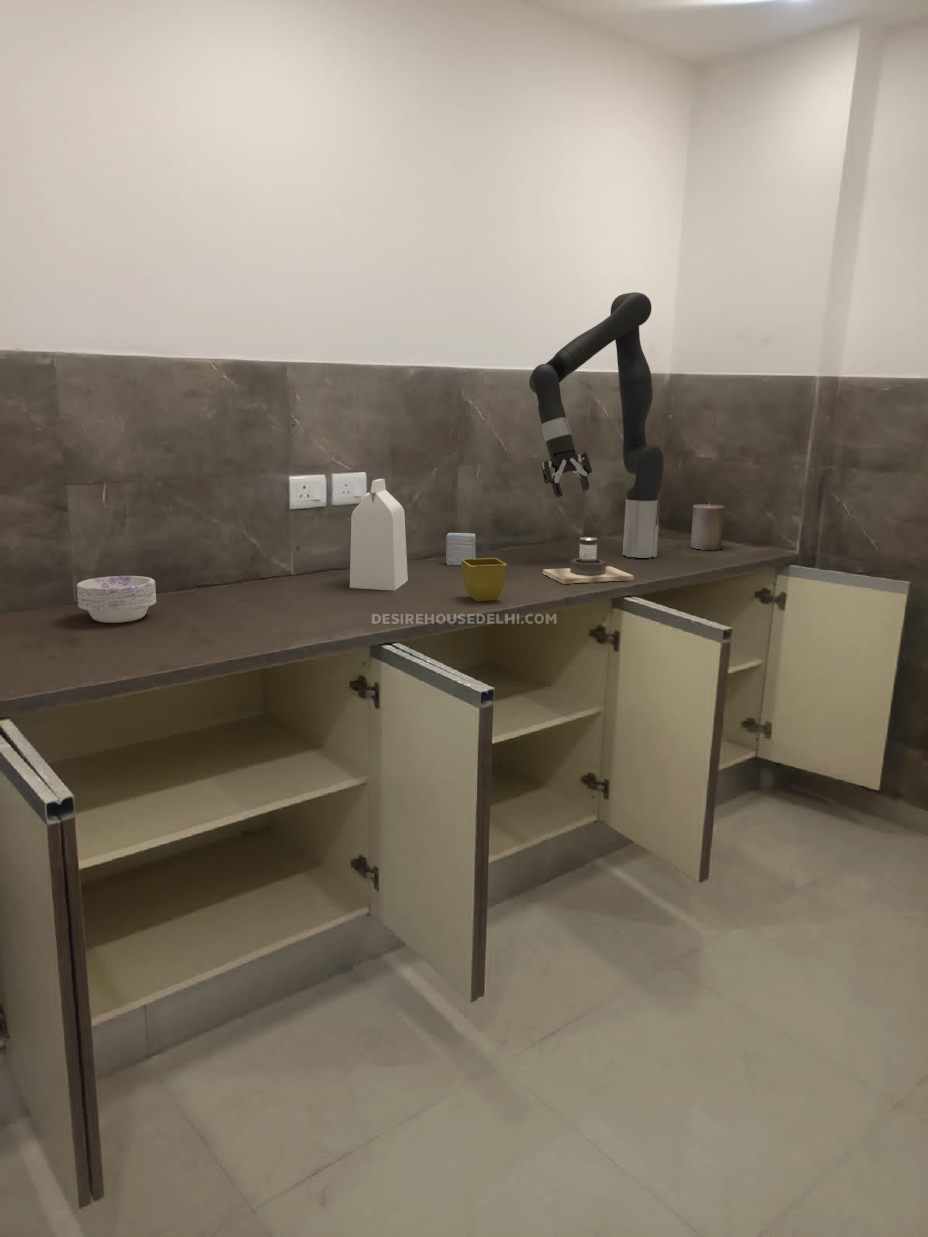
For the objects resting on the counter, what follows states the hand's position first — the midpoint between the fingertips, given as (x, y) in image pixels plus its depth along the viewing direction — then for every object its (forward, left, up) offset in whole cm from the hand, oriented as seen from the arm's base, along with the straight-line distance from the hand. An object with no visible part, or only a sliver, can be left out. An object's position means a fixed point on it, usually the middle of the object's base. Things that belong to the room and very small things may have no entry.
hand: (572, 493), depth 246 cm
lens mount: (+3, +18, -20) cm, 27 cm away
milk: (+58, +13, -21) cm, 63 cm away
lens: (+3, +18, -19) cm, 26 cm away
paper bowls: (+118, +34, -21) cm, 125 cm away
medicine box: (+30, -8, -21) cm, 37 cm away
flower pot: (+38, +35, -20) cm, 56 cm away
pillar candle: (-55, -17, -20) cm, 61 cm away
